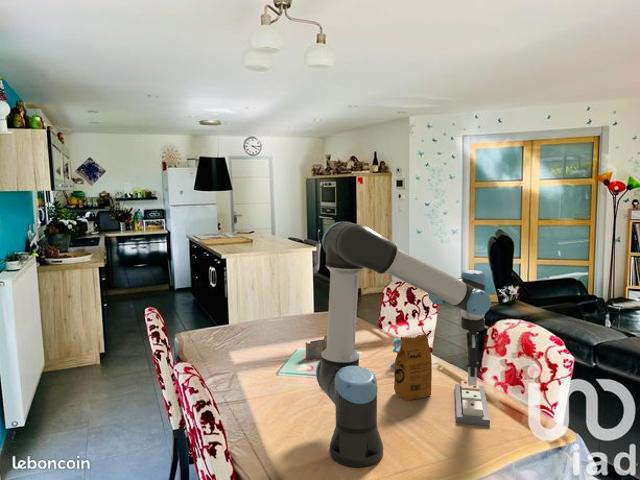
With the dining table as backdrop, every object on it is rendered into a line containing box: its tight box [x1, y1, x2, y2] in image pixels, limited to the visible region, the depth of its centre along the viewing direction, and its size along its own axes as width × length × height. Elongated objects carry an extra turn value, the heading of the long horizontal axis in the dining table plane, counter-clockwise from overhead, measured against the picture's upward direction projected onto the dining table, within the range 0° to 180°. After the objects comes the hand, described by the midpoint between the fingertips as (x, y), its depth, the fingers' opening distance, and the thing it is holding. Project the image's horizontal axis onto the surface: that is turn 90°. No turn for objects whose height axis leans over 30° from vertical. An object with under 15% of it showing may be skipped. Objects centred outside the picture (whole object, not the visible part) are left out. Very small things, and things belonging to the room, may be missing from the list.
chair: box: [390, 337, 402, 369], centre depth 202 cm, size 8×8×12 cm
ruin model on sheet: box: [305, 334, 327, 361], centre depth 214 cm, size 11×3×10 cm, turn 115°
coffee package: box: [393, 332, 433, 402], centre depth 173 cm, size 10×12×22 cm
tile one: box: [461, 400, 483, 417], centre depth 156 cm, size 6×6×3 cm
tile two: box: [461, 390, 481, 404], centre depth 164 cm, size 6×6×3 cm
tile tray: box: [454, 383, 491, 427], centre depth 164 cm, size 26×10×2 cm, turn 166°
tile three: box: [460, 380, 480, 394], centre depth 172 cm, size 6×6×3 cm
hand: (472, 384), depth 164 cm, fingers closed
